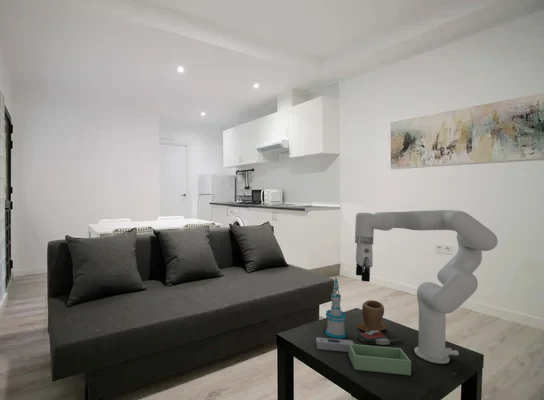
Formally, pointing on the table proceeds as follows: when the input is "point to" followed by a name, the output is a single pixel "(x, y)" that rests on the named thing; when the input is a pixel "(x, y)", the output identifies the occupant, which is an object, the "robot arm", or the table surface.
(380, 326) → the brown flared hollow piece
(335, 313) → the model tower
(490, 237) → the robot arm
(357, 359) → the tray
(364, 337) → the walkie-talkie
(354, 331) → the table surface
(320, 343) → the remote
